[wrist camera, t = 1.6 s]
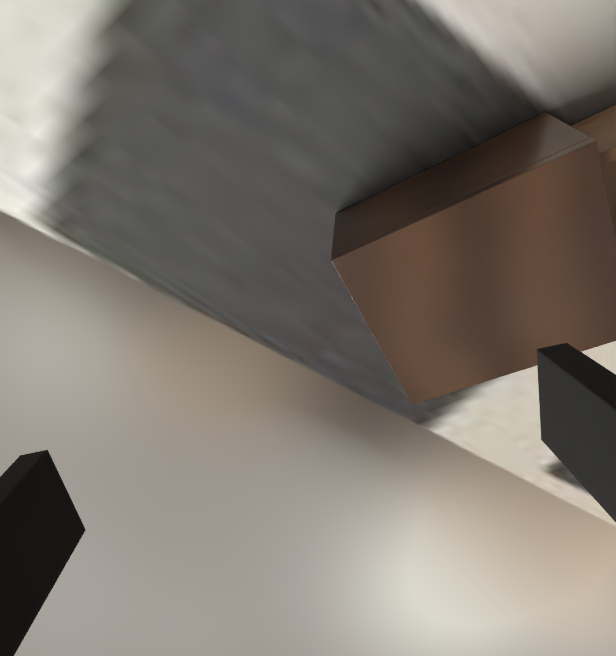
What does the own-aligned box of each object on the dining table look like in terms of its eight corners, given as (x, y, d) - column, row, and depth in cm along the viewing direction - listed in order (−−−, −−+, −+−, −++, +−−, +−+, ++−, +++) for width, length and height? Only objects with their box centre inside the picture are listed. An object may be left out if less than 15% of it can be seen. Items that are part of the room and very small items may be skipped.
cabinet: (545, 111, 33) (597, 140, 26) (586, 276, 40) (636, 334, 33) (335, 213, 38) (330, 260, 31) (403, 342, 45) (411, 404, 38)
